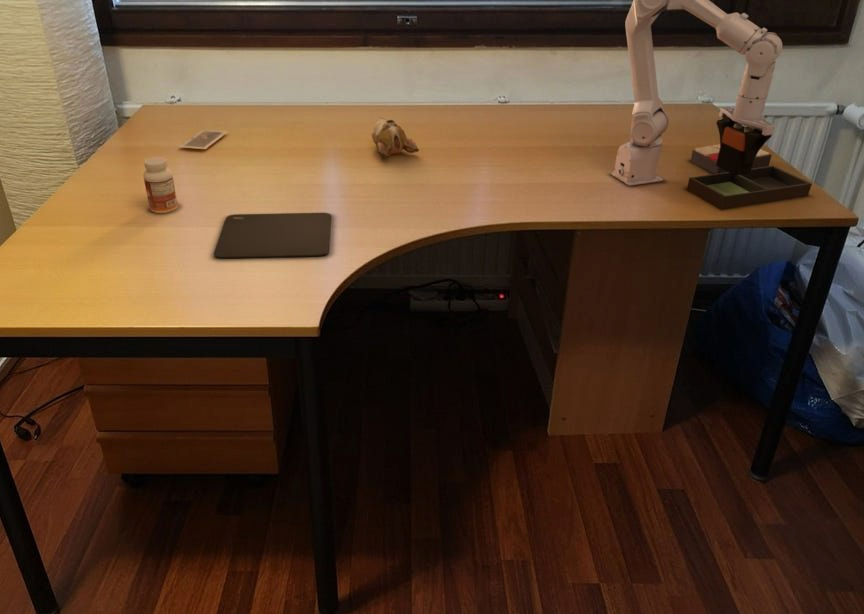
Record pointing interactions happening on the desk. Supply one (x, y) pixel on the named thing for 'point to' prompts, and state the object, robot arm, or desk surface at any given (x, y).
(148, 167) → the pill bottle
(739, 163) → the battery
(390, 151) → the ceramic sculpture
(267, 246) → the mouse pad
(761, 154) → the red and cream box
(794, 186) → the organizer
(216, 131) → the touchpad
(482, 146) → the desk surface
